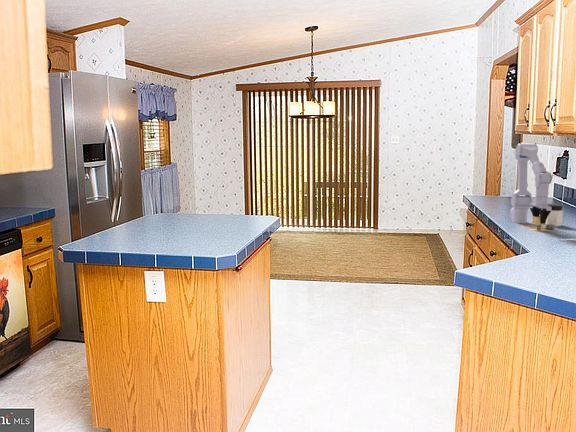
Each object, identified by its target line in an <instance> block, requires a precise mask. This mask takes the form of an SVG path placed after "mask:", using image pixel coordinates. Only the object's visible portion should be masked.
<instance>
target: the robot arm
mask: <svg viewBox="0 0 576 432" xmlns="http://www.w3.org/2000/svg"><path fill="white" fill-rule="evenodd" d="M538 151H539V147H538V144H537V143H518V144H517V145H516V146H515V152H514V153H515V155H514V158H515V160H517V176H516V177H517V178H516V179H517V182H516V183H517V184H516V185H517V186H516V187H517V189H516V190H515V191H514V192H512V194H511V198H510V205H511V206H512V208H510V211H509V219H508V221H510V222H511V223H512V222H513V223H515V224H517V223H518V224H527V222H528V212H529V209H530V212H531V214H532V217H533V216H540V223H541V224H545V222H546V219H547V217H548V215H549V214H550V212H551V209H552V207H550V206H548V205H547V204H548V199H549V187H550V184H551V183H552V181H553V175H552V173H551V172H549V171H547V169H546V167H545V165H544V163H543V162H541V161H540V159H539V156H538ZM529 161H530V163H531V164H532V165H531V169H532V172H533V174H534V184H535V185H534V186H535V197H534V202H533V198H532V193H531V192H530V191H529V190H528V162H529Z"/></svg>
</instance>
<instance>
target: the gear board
mask: <svg viewBox="0 0 576 432" xmlns="http://www.w3.org/2000/svg"><path fill="white" fill-rule="evenodd" d="M519 227H520V228H521V227H522V228H524V229H527V230H530V231H534V232H559V230H557V229H555V230H545V227H546V225H535V224H532V225H531V224H530V225H529V224H527V225H525V224H524V225H521V224H520V225H519Z"/></svg>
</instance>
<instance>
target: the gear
mask: <svg viewBox="0 0 576 432" xmlns="http://www.w3.org/2000/svg"><path fill="white" fill-rule="evenodd" d="M545 230H556V226H555V225H553V224H551V223H549V224H547V225H545Z"/></svg>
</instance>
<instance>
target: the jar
mask: <svg viewBox="0 0 576 432" xmlns="http://www.w3.org/2000/svg"><path fill="white" fill-rule="evenodd" d="M547 205H548V206H550V207H552V209H551V212H550V214H549V215H548V217H547V219H546V225H547V224H549V223H551V224H553V225H555V227H561V226H563V225H562V224H563V217H564V215H563V214H564V210H563V207H564V206H563V204H558V203H547ZM546 225H545V226H546Z"/></svg>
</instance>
